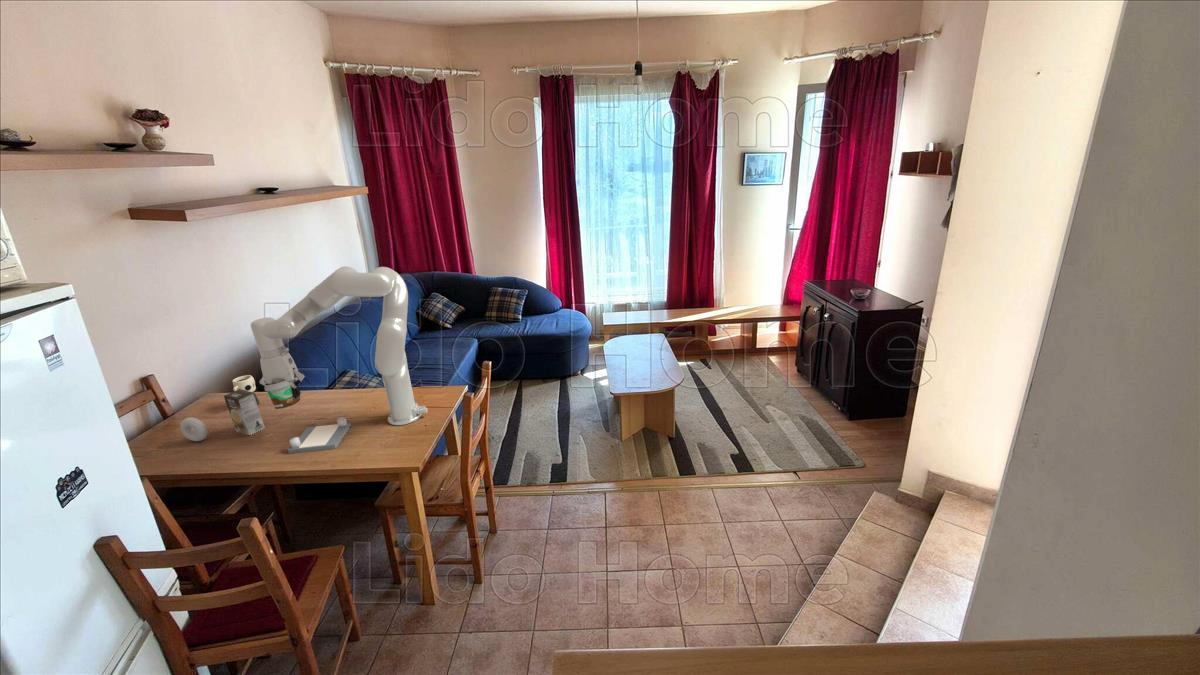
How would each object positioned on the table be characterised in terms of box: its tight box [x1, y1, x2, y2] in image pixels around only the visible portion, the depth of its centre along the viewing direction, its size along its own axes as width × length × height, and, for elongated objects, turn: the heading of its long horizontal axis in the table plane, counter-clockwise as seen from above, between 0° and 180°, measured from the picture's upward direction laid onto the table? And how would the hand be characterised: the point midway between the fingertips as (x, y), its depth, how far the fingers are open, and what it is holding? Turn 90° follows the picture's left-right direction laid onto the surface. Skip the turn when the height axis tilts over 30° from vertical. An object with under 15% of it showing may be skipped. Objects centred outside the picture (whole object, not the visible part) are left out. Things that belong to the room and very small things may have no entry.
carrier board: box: [287, 416, 352, 455], centre depth 184 cm, size 16×16×4 cm
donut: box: [180, 416, 208, 442], centre depth 187 cm, size 10×4×10 cm, turn 79°
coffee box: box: [223, 389, 266, 436], centre depth 192 cm, size 9×6×16 cm
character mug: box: [232, 374, 260, 404], centre depth 213 cm, size 11×7×13 cm, turn 175°
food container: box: [263, 376, 301, 410], centre depth 180 cm, size 12×6×10 cm, turn 169°
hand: (288, 397), depth 181 cm, fingers closed on food container, 5 cm apart
